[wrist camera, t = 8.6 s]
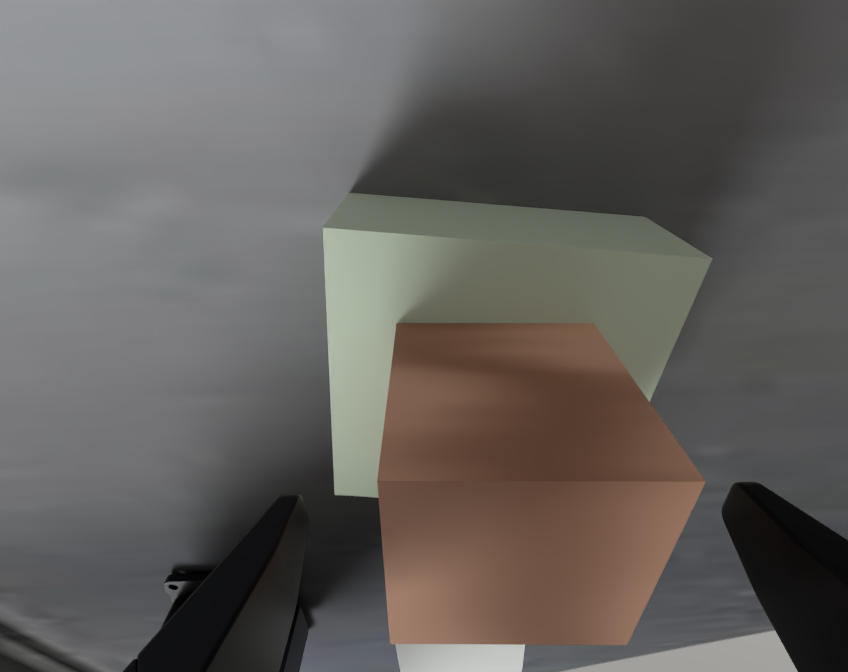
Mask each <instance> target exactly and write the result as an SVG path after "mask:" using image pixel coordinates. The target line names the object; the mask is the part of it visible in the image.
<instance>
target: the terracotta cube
mask: <svg viewBox="0 0 848 672" xmlns="http://www.w3.org/2000/svg"><path fill="white" fill-rule="evenodd" d="M705 482H706V481H705V480H704V478H703V477H702V476H701V474H700V473H699V471H698V470H697V469H696V467H695V466H694V464H693V463H692V461H691V460H690V459H689V457H688V456H687V454H686V453H685V452H684V450H683V449H682V447H681V446H680V444H679V443H678V442H677V440H676V439H675V437H674V436H673V435H672V433H671V432H670V430H669V429H668V428H667V426H666V425H665V423H664V422H663V420H662V419H661V418H660V416H659V415H658V413H657V412H656V411H655V409H654V408H653V406H652V405H651V403H650V402H649V401H648V399H647V398H646V396H645V395H644V394H643V392H642V391H641V389H640V388H639V386H638V385H637V384H636V382H635V381H634V379H633V378H632V377H631V375H630V374H629V372H628V371H627V369H626V368H625V367H624V365H623V364H622V362H621V361H620V360H619V358H618V357H617V355H616V354H615V352H614V351H613V350H612V348H611V347H610V345H609V344H608V343H607V341H606V340H605V338H604V337H603V335H602V334H601V333H600V331H599V330H598V328H597V327H596V326H595V324H559V323H396V331H395V339H394V348H393V356H392V364H391V372H390V380H389V388H388V396H387V404H386V413H385V421H384V429H383V437H382V445H381V453H380V461H379V469H378V478H377V486H378V498H379V511H380V523H381V535H382V548H383V560H384V573H385V585H386V597H387V610H388V622H389V634H390V644H510V645H627V644H628V642H629V639H630V637H631V635H632V633H633V631H634V629H635V627H636V625H637V623H638V621H639V619H640V617H641V615H642V613H643V611H644V608H645V606H646V604H647V602H648V600H649V598H650V596H651V594H652V592H653V590H654V588H655V586H656V584H657V582H658V580H659V577H660V575H661V573H662V571H663V569H664V567H665V565H666V563H667V561H668V559H669V557H670V555H671V553H672V551H673V548H674V546H675V544H676V542H677V540H678V538H679V536H680V534H681V532H682V530H683V528H684V526H685V524H686V522H687V520H688V517H689V515H690V513H691V511H692V509H693V507H694V505H695V503H696V501H697V499H698V497H699V495H700V493H701V491H702V488H703V486H704V484H705Z"/></svg>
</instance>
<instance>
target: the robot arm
mask: <svg viewBox="0 0 848 672" xmlns="http://www.w3.org/2000/svg"><path fill="white" fill-rule="evenodd" d="M722 517H723V520H724V523H725V525H726V528H727V530H728V532H729V534H730V537H731V539H732V541H733V544H734V546H735V548H736V550H737V553H738V555H739V557H740V560H741V562H742V564H743V567H744V569H745V571H746V573H747V576H748V578H749V580H750V583H751V585H752V587H753V589H754V591H755V593H756V595H757V597H758V599H759V601H760V603H761V605H762V607H763V609H764V611H765V613H766V614H767V616H768V618H769V620H770V622H771V623H772V625H773V627H774V629H775V631H776V632H777V634H778V636H779V638H780V640H781V642H782V643H783V645H784V647H785V649H786V651H787V653H788V654H789V656H790V658H791V659H792V662H793V663H794V665H795V667H796V669H797V671H798V672H848V540H847V539H845V538H844V537H842V536H840V535H839V534H837V533H836V532H834V531H833V530H831V529H830V528H828V527H827V526H825V525H823V524H822V523H820V522H819V521H817V520H816V519H814V518H813V517H811V516H809V515H808V514H806V513H805V512H803V511H802V510H800V509H799V508H797V507H796V506H794V505H792V504H791V503H789V502H788V501H786V500H785V499H783V498H782V497H780V496H778V495H777V494H775V493H774V492H772V491H771V490H769V489H768V488H766V487H765V486H763V485H761V484H759V483H756V482H737V483H735V484H733V485H732V487H731V489H730V491H729V493H728V495H727V498H726V500H725V502H724V504H723V507H722ZM308 529H309V520H308V515H307V512H306V508H305V505H304V502H303V498H302V496H301V495H300V494H283V495H281V496H279V497H278V498H277V499H276V501H275V502H274V503H273V504H272V505H271V506H270V507H269V508H268V510H267V511H266V512H265V513H264V514H263V515H262V516H261V517H260V519H259V520H258V521H257V522H256V523H255V524H254V525H253V526H252V527H251V529H250V530H249V531H248V532H247V533H246V534H245V535H244V536H243V538H242V539H241V540H240V541H239V542H238V543H237V544H236V545H235V547H234V548H233V549H232V550H231V551H230V552H229V553H228V554H227V555H226V557H225V558H224V559H223V560H222V561H221V562H220V563H219V564H218V566H217V567H216V568H215V569H214V570H213V571H212V572H211V573H208V574H172V575H169V576H168V577H167V579H166V581H165V583H164V585H163V586H164V589H165V590H166V592H167V593H168V595H169V596H170V598H171V600H172V601H173V605H172V607H171V609H170V611H169V613H168V615H167V617H166V619H165V621H164V623H163V625H162V627H161V629H160V631H159V632H158V633H157V634H156V635H155V636H154V637H153V638H152V640H151V641H150V642H149V643H148V644H147V645H146V646H145V647H144V648H143V650H142V651H141V652H140V653H139V654H138V657H137V659H134V660H133V661H132V662H131V663H130V664H129V665H128V666H127V667H126V668H125V670H124V671H123V672H299V670H300V666H301V661H302V657H303V652H304V648H305V643H306V640H307V636H308V625H307V622H306V620H305V617H304V614H303V611H302V609H301V606H300V605H299V603H298V602H297V598H298V593H299V586H300V580H301V574H302V567H303V561H304V555H305V548H306V542H307V536H308Z"/></svg>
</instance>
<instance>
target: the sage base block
mask: <svg viewBox="0 0 848 672" xmlns="http://www.w3.org/2000/svg"><path fill="white" fill-rule="evenodd" d="M323 242H324V264H325V287H326V310H327V333H328V356H329V379H330V402H331V425H332V447H333V470H334V493H335V495H344V496H361V497H377V498H378V486H377V478H378V469H379V461H380V453H381V445H382V437H383V429H384V421H385V413H386V404H387V396H388V388H389V380H390V372H391V364H392V356H393V348H394V339H395V331H396V323H559V324H595V326H596V327H597V328H598V330H599V331H600V333H601V334H602V335H603V337H604V338H605V340H606V341H607V343H608V344H609V345H610V347H611V348H612V350H613V351H614V352H615V354H616V355H617V357H618V358H619V360H620V361H621V362H622V364H623V365H624V367H625V368H626V369H627V371H628V372H629V374H630V375H631V377H632V378H633V379H634V381H635V382H636V384H637V385H638V386H639V388H640V389H641V391H642V392H643V394H644V395H645V396H646V398H647V399H648V401H649V402H650V400H651V397H652V395H653V393H654V390H655V388H656V386H657V384H658V381H659V379H660V377H661V375H662V372H663V370H664V368H665V366H666V363H667V361H668V359H669V356H670V354H671V352H672V350H673V347H674V345H675V343H676V341H677V338H678V336H679V334H680V331H681V329H682V327H683V325H684V322H685V320H686V318H687V316H688V313H689V311H690V309H691V306H692V304H693V302H694V300H695V297H696V295H697V293H698V291H699V288H700V286H701V284H702V282H703V279H704V277H705V275H706V272H707V270H708V268H709V266H710V263H711V261H712V259H713V258H711V257H709V256H708V255H706V254H704V253H703V252H701V251H700V250H698V249H696V248H695V247H693V246H691V245H690V244H688V243H687V242H685V241H683V240H682V239H680V238H678V237H677V236H675V235H674V234H672V233H670V232H669V231H667V230H665V229H664V228H662V227H661V226H659V225H657V224H656V223H654V222H652V221H651V220H649V219H648V218H646V217H643V216H630V215H618V214H606V213H593V212H581V211H569V210H556V209H544V208H532V207H519V206H507V205H495V204H482V203H470V202H458V201H445V200H433V199H421V198H408V197H396V196H384V195H371V194H359V193H349V194H348V195H347V196H346V198H345V199H344V200H343V202H342V203H341V204H340V206H339V207H338V208H337V210H336V211H335V212H334V214H333V215H332V216H331V218H330V219H329V220H328V222H327V223H326V224H325V226H324V227H323Z"/></svg>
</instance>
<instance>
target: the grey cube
mask: <svg viewBox="0 0 848 672" xmlns="http://www.w3.org/2000/svg"><path fill="white" fill-rule="evenodd" d="M395 645H396V650H397V656H398V661H399V667H400V672H522V665H523V657H524V649H525V645H510V644H395Z"/></svg>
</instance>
